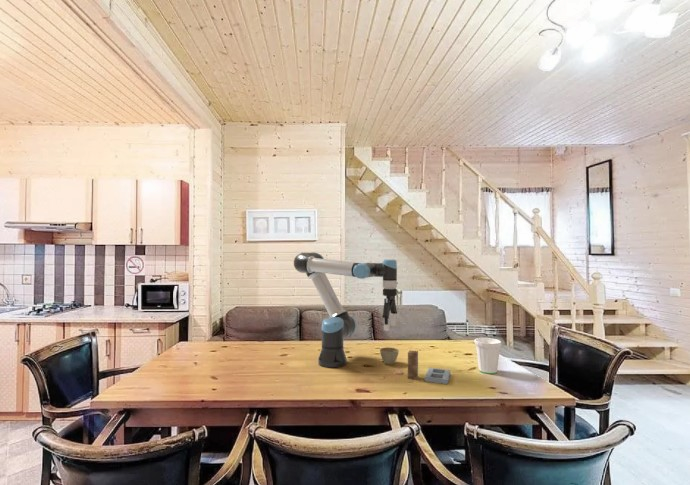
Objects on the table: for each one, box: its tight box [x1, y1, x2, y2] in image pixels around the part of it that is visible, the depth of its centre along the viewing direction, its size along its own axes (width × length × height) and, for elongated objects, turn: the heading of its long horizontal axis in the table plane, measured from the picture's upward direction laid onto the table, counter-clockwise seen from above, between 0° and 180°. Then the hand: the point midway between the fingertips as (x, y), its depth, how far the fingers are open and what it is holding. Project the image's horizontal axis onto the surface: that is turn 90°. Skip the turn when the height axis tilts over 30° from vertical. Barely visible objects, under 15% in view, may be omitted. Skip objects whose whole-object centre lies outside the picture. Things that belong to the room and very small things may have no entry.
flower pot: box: [379, 346, 400, 366], centre depth 191 cm, size 10×10×7 cm
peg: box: [407, 350, 419, 380], centre depth 170 cm, size 4×4×12 cm
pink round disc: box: [393, 370, 404, 375], centre depth 176 cm, size 5×5×1 cm
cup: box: [474, 337, 502, 375], centre depth 179 cm, size 12×12×15 cm
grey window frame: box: [424, 367, 451, 385], centre depth 169 cm, size 10×14×2 cm
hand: (389, 328), depth 191 cm, fingers open, 13 cm apart
